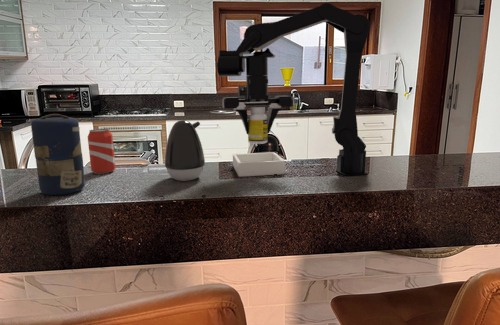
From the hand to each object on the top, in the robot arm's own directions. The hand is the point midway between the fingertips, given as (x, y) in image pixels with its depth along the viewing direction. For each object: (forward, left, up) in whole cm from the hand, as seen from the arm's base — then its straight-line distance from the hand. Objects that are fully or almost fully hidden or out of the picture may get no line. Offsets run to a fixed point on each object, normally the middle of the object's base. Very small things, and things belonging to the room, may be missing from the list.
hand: (257, 133), depth 100 cm
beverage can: (+43, -7, -11) cm, 45 cm away
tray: (0, 0, -10) cm, 10 cm away
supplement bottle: (0, 0, -3) cm, 3 cm away
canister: (+48, +11, -11) cm, 51 cm away
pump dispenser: (+20, +5, -11) cm, 23 cm away
